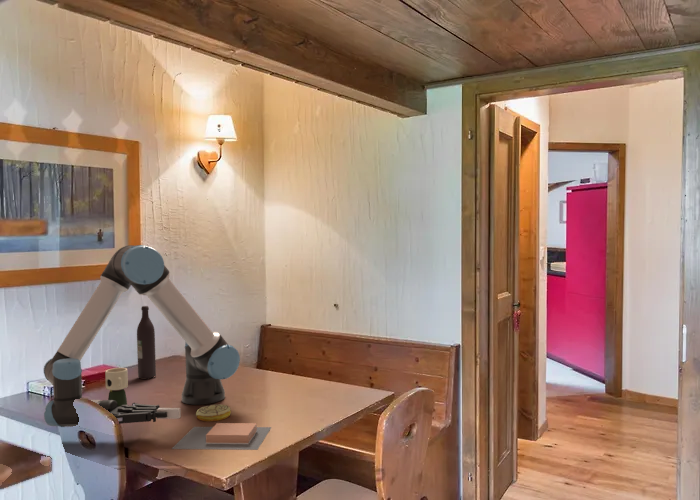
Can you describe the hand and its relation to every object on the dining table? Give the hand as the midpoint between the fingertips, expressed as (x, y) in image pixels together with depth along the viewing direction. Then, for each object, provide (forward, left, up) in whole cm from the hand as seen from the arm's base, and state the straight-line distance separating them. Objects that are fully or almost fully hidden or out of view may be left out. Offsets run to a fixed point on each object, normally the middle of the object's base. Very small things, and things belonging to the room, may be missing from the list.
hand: (179, 413), depth 166 cm
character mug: (-40, -22, -8) cm, 46 cm away
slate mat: (+4, +12, -8) cm, 15 cm away
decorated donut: (-17, +10, -8) cm, 21 cm away
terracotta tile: (+3, +9, -6) cm, 11 cm away
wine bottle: (-81, -15, -8) cm, 83 cm away
